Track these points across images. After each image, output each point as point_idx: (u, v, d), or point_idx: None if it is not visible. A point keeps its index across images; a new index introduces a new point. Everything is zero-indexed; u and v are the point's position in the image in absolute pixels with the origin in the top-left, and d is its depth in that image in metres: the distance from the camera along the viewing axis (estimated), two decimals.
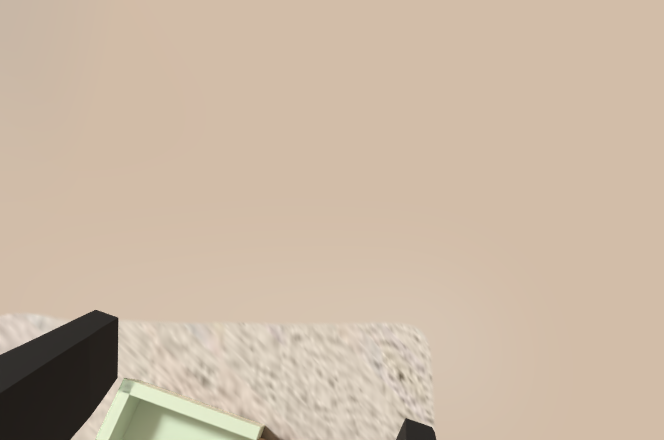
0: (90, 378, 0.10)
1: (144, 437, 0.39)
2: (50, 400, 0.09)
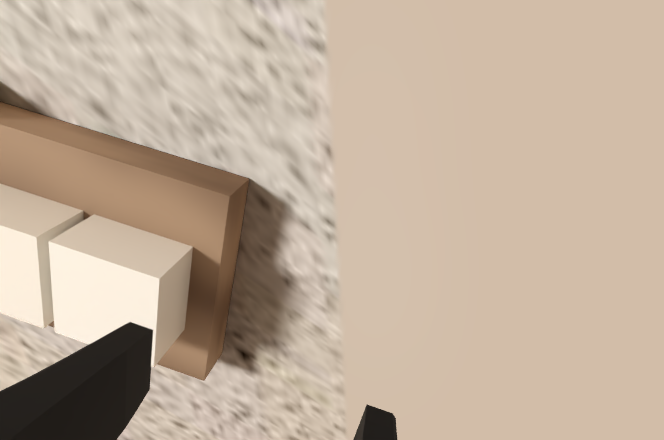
0: (126, 391, 0.10)
1: None
2: (90, 415, 0.09)
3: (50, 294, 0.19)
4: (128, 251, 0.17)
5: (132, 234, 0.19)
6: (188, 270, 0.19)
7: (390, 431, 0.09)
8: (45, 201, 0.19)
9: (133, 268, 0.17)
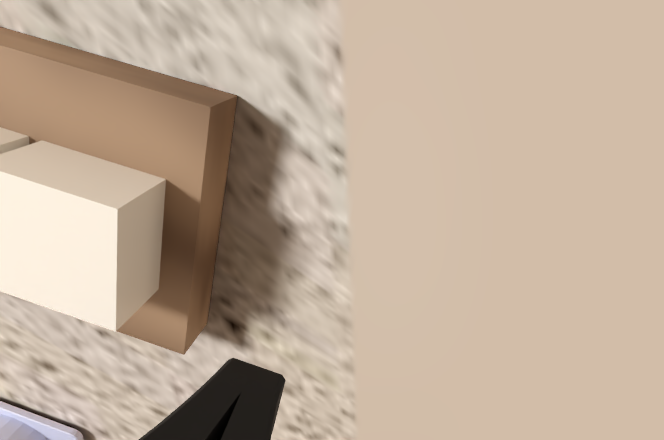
0: None
1: None
2: None
3: None
4: (80, 179, 0.14)
5: (88, 162, 0.15)
6: (160, 210, 0.15)
7: (272, 389, 0.10)
8: None
9: (83, 196, 0.13)
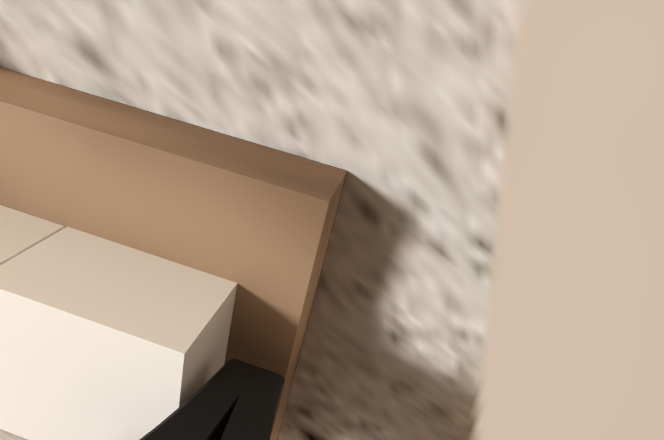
0: None
1: None
2: None
3: None
4: (125, 296, 0.10)
5: (132, 262, 0.11)
6: (228, 322, 0.11)
7: (272, 389, 0.10)
8: None
9: (133, 332, 0.09)
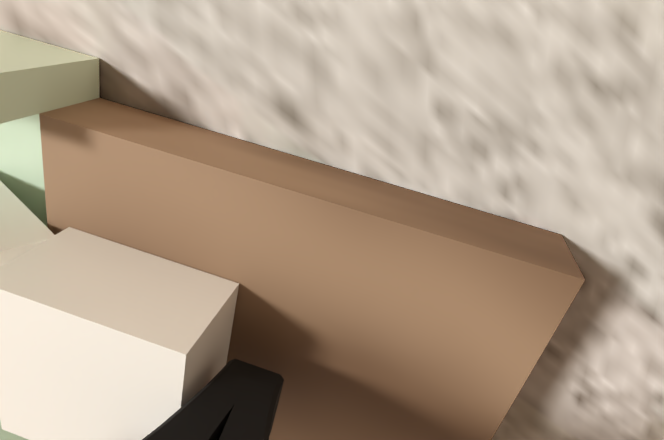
0: None
1: None
2: None
3: None
4: (127, 297, 0.10)
5: (134, 262, 0.11)
6: (230, 323, 0.11)
7: (271, 389, 0.10)
8: (18, 209, 0.12)
9: (135, 333, 0.09)
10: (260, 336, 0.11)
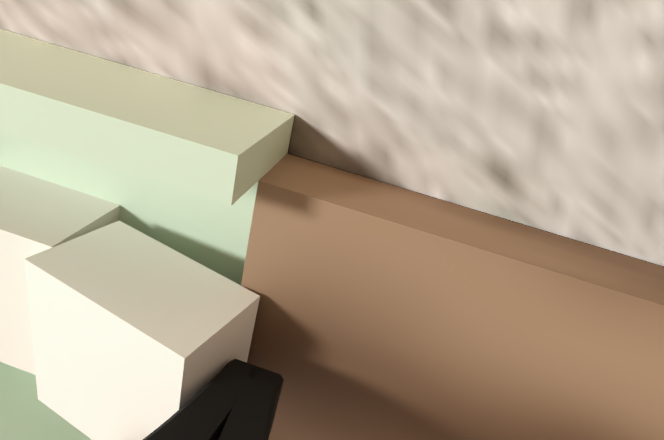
0: None
1: None
2: None
3: None
4: (148, 293, 0.10)
5: (166, 261, 0.11)
6: (248, 334, 0.11)
7: (270, 389, 0.10)
8: (62, 190, 0.13)
9: (144, 328, 0.09)
10: (462, 405, 0.11)
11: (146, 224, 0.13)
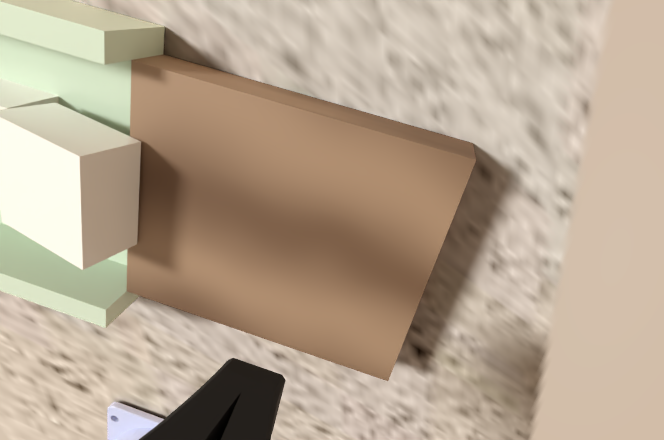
0: None
1: None
2: None
3: None
4: (65, 132, 0.16)
5: (82, 122, 0.17)
6: (135, 169, 0.17)
7: (272, 389, 0.10)
8: (19, 86, 0.19)
9: (57, 144, 0.15)
10: (273, 214, 0.17)
11: (76, 109, 0.19)
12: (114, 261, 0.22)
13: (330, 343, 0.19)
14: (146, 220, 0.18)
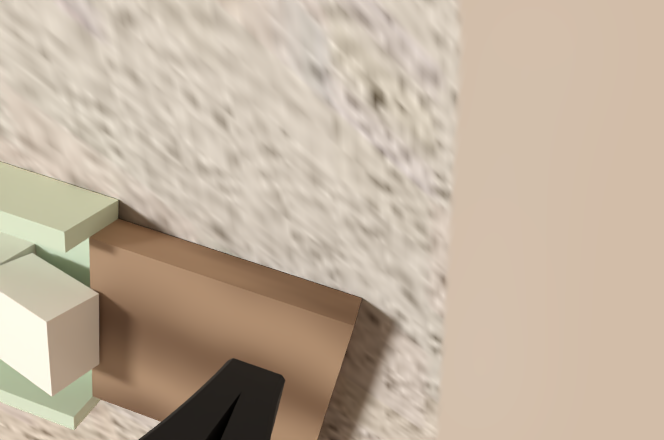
0: None
1: None
2: None
3: None
4: (37, 292, 0.20)
5: (52, 275, 0.21)
6: (95, 313, 0.21)
7: (272, 389, 0.10)
8: (3, 235, 0.23)
9: (30, 308, 0.19)
10: (205, 350, 0.21)
11: (49, 254, 0.23)
12: None
13: None
14: (106, 347, 0.22)
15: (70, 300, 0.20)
